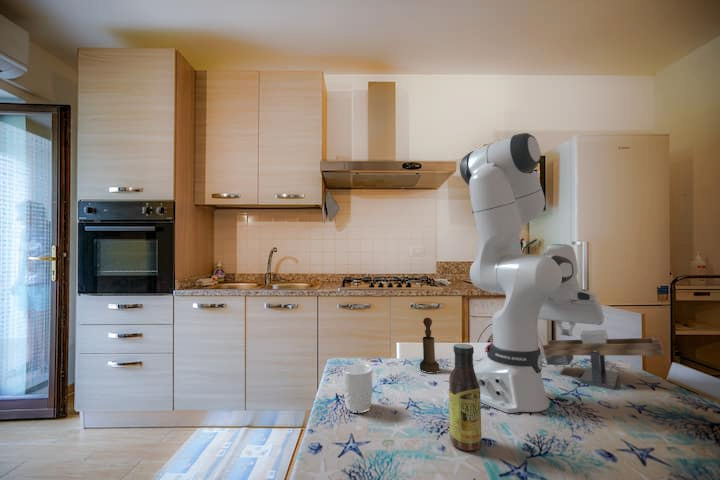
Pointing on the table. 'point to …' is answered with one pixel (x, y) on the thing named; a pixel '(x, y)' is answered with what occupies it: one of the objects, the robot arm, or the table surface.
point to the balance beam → (601, 349)
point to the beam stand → (599, 373)
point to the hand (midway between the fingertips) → (566, 335)
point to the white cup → (357, 386)
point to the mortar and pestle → (428, 350)
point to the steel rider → (594, 337)
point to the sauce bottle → (464, 401)
